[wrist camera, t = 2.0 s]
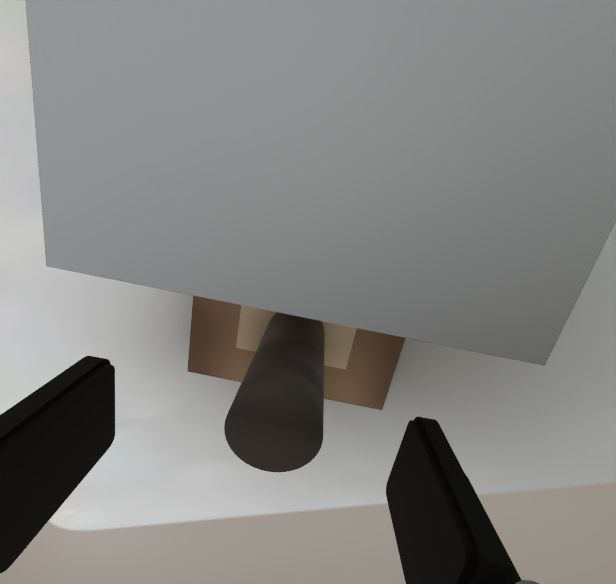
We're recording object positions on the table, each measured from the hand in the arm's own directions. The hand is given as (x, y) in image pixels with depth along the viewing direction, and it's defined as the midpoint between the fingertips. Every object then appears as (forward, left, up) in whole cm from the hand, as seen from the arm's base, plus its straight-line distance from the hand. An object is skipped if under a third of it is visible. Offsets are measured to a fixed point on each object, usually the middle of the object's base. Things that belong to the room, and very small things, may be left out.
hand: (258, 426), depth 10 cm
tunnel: (-1, -10, -8) cm, 13 cm away
